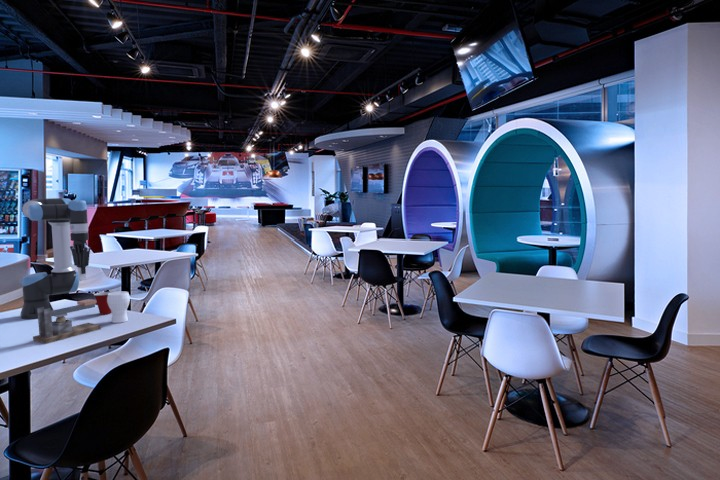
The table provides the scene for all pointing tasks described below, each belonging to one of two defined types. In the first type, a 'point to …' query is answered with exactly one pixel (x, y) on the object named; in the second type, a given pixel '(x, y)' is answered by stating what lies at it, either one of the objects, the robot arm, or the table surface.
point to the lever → (74, 308)
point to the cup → (118, 305)
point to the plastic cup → (103, 303)
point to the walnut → (60, 319)
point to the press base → (70, 334)
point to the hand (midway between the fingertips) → (82, 280)
